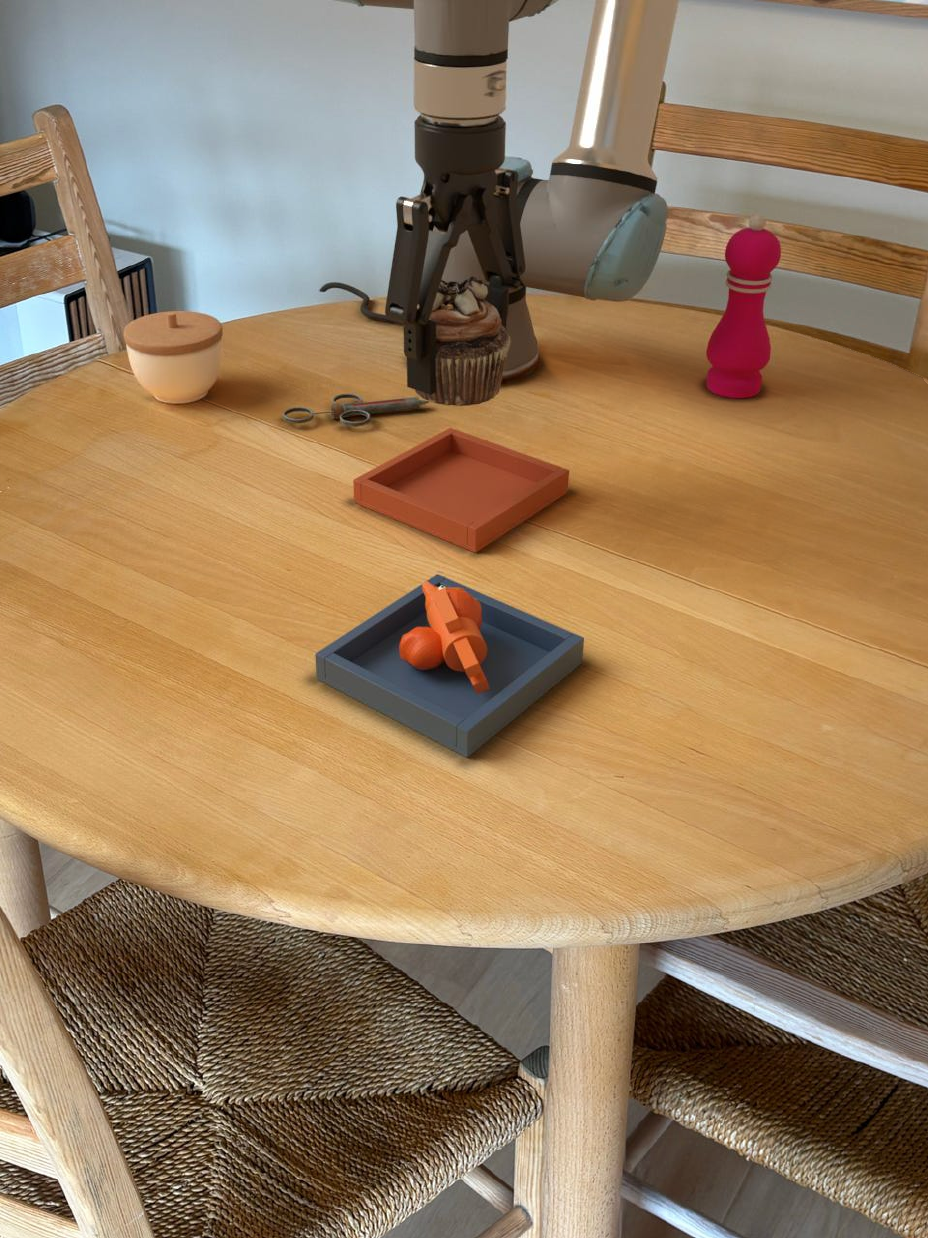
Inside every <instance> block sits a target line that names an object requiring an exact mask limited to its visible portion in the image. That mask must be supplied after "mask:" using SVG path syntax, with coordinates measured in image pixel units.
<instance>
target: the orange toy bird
mask: <svg viewBox="0 0 928 1238" xmlns="http://www.w3.org/2000/svg"><path fill="white" fill-rule="evenodd" d="M421 584H422V590H423V592H424V595H425V597H426V602H425V608H426V611H427V619H428V622H429V624H430V627H431V628H429V627H416V628H414V629H413V630H411V631H410V632H408V633H406V634H404V635H403V636H402V639H401V642H400V645H399V650H400V657H401V658H402V659H403V660H404V661H405V662H406V663H407V664H408V665H410V666H413V667H415V668H417V669H419V670H428V669H432V668H435V667H437V666H439V665H440V664H441V663H442V662H443V661H444V660H445V662H446V664H447V665H448V666H449V667H450V668H451V669H453V670H455V671H466V674H467V676H468V678H470V680H471V682H472V685H473V687H474V689H475V691H476V694H479V693H482V692H484V691H486V690H489V689H490V687H489V684H488V682H487V679H486V677H485V675H484V673H483V671H482V669H481V666H480V664H481V663H482V662H483V660H484V659H485V657H486V654H487V646H486V643H485V641H484V639H483V637H482V635H481V633H480V631H479V629H480V627H481V625H482V609H481V605H480V603H479V601H478V600H476V599H475V598H473V596H472V595H470V594H469V593H467V592H466V591H465V590H464V589H462V588H459V587H445V586H440V587H436V586H434V585H432V584H431V583H430V582H428V581H427V580H426V581H423V582H422V583H421Z"/></svg>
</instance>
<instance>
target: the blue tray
mask: <svg viewBox="0 0 928 1238" xmlns="http://www.w3.org/2000/svg"><path fill="white" fill-rule="evenodd" d="M426 581H428V582H430V583H431V584H432V585H434V586H436V587H440V586H445V587H459V588H462V589H464V590H465V591H466V592H467V593H469V594H470V595H472V596H473V598H475V599H476V600H478V601H479V603H480V605H481V609H482V625H481V627H480V629H479V631H480V633H481V635H482V637H483V639H484V641H485V643H486V646H487V654H486V657H485V659H484V660H483V662H482V663H481V664H480V666H481V669H482V671H483V673H484V675H485V677H486V679H487V682H488V684H489V687H490V689H489V690H486V691H484V692H482V693H479V694H476V691H475V689H474V687H473V685H472V682H471V680H470V678H468V676H467V674H466V671H455V670H453V669H451V668H450V667H449V666H448V665H447V664H446V662H445V660H444V661H443V662H442V663H441V664H440V665H439V666H437V667H435V668H432V669H428V670H419V669H417V668H415V667H413V666H410V665H408V664H407V663H406V662H405V661H404V660H403V659H402V658H401V657H400V650H399V645H400V642H401V639H402V636H403V635H404V634H406V633H408V632H410V631H411V630H413V629H414V628H416V627H429V628H431V627H430V624H429V622H428V619H427V611H426V608H425V602H426V597H425V595H424V592H423V590H422V583H421V584H419V585H418V586H417V587H415V588H413V589H412V590H410V591H409V592H407V593H406V594H404V595H402V596H401V597H400V598H398V599H396V600H395V601H393V602H392V603H390V604H389V605H387V606H386V607H385V608H383V609H381V610H380V611H378V612H377V613H375V614H373V615H372V616H370V617H369V618H367V619H366V620H364V621H363V622H361V623H360V624H359V625H357V626H355V627H353V628H352V629H351V630H349V631H348V632H346V633H344V634H343V635H341V636H340V637H339V638H337V639H335V640H334V641H332V642H331V643H329V644H328V645H326V646H324V647H323V648H322V649H320V650H318V651H317V652H315V654H314V658H315V670H316V680H318V681H319V682H321V683H324V684H326V685H327V686H329V687H330V688H333V689H335V690H336V691H339V692H341V693H342V694H344V695H347V696H348V697H350V698H352V699H354V700H356V701H358V702H360V703H361V704H364V705H366V706H367V707H369V708H371V709H372V710H375V711H377V712H379V713H381V714H383V716H387V717H388V718H390V719H392V720H394V721H396V722H398V723H400V724H402V725H404V726H405V727H406V728H407V727H408V728H409V729H412V730H413V731H415V732H417V733H419V734H420V735H422V736H425V737H427V738H428V739H431V740H433V742H436V743H438V744H440V745H442V746H444V747H446V748H447V749H449V750H451V751H453V752H455V753H457V754H459V755H461V756H462V757H464V758H466V759H467V758H470V757H471V756H472V754H474V753H475V752H476V751H478V750H479V749H480V748H481V747H482V746H484V745H485V744H486V743H487V742H489V740H491V739H492V738H493V737H494V736H495V735H497V734H498V733H499V732H500V731H502V730H503V729H504V728H505V727H506V726H508V725H509V724H510V723H511V722H512V721H514V720H515V719H516V718H517V717H519V716H520V715H521V714H523V712H525V711H526V710H527V709H529V708H530V707H531V706H532V705H533V704H534V703H535V702H537V701H538V700H539V699H540V698H542V697H543V696H544V695H545V694H547V693H548V692H549V691H550V690H551V689H553V687H555V686H556V685H558V684H559V683H560V682H561V681H562V680H564V678H566V677H567V676H568V675H570V674H571V673H572V672H573V671H574V670H575V669H577V668H578V667H579V666H580V665H582V664H583V658H584V645H585V637H583V636H581V635H579V634H577V633H574V632H571V631H570V630H567V629H565V628H562V627H560V626H557V625H555V624H553V623H551V622H549V621H547V620H545V619H542V618H540V617H537V616H536V615H532V614H530V613H528V612H526V611H523V610H521V609H519V608H517V607H514V606H512V605H510V604H508V603H505V602H503V601H501V600H498V599H496V598H493V597H491V596H489V595H487V594H485V593H482V592H480V591H478V590H476V589H473V588H470V587H468V586H466V585H463V584H461V583H459V582H457V581H454V580H452V579H450V578H448V577H446V576H444V575H441V574H439V573H436V574H435V575H434V576H432V577H430V578H429V579H427V580H426Z"/></svg>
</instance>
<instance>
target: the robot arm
mask: <svg viewBox="0 0 928 1238" xmlns="http://www.w3.org/2000/svg"><path fill="white" fill-rule="evenodd" d="M333 1H335V2H340V3H346V4H353V5H357V6H358V7H359V8H361V7H365V6H367V7H378V8H379V7H380V8H392V9H403V10H404V9H405V10H413V27H414V28H413V29H414V46H413V48H414V49H413V108H414V110H415V111H416V112H417V113H418V114H419V115H418V116H417V118H416V119H415V120H414V161H415V163H416V164H417V165H418V166H419V167H420V169H421V170H422V172H423V181H422V186H421V189H420V194H417V195H415V196H413V197H412V198H410V197H407V196H399V197H398V198H397V200H396V202H395V211H396V224H397V225H396V226H397V227H396V233H395V241H394V247H393V248H394V249H393V254H392V262H391V269H390V274H389V282H388V286H387V287H388V288H387V293H386V294H387V295H386V301H385V307H384V313H383V314H382V313H377V312H373V311H371V310H369V309H367V307H368V306H369V304H370V297H369V295H368V294H367V293H366V292H363V291H362V290H360V289H358V288H356V287H354V286H352V285H349V284H346V283H343V282H337V281H332V282H331V281H330V282H328V283H324V284H323V285H322V286H321V287H320V288H319V290H318V292H320V293H326V292H327V291H329V290H330V289H341V290H344V291H346V292H349V293H351V294H354V295H355V296H357V297H359V298H360V299H361V300H363V301H362V302H361V304H360V307H359V310H360V313H362V315H364V316H365V317H367V318H370V319H374V320H378V321H383V322H389V323H394V324H398V325H403V352H404V356H405V357H406V387H407V388H409V389H411V390H414V391H415V390H418V391H421V392H424V393H427V394H430V395H431V394H433V393H435V392H436V322H435V321H432V320H429V317H430V314H431V311H432V308H433V305H434V301H435V298H436V295H437V292H438V289H439V285H440V282H441V280H443V281H445V282H447V283H448V282H449V281H455V282H459V284H461V283H462V282H464V281H465V280H467V279H469V278H470V277H471V276H473V277H475V278H476V279H478V280H482V281H483V284H484V285H485V286H487V290H488V293H487V295H486V298H485V299H484V300H485V301H487V302H488V303H490V304H491V305H493V306H494V307H495V308H496V309H497V310H498V313H499V315H500V318H501V323H502V326H504V328H505V330H506V333H507V334H509V336H510V338H511V339H510V342H511V343H510V346H509V350H508V354H507V358H506V363H505V367H504V371H503V375H502V380H501V384H503V383H508V382H512V381H515V380H518V379H521V378H524V377H525V376H527V375H529V374H531V373H532V372H533V371H535V370H536V368H537V366H538V364H539V355H540V354H539V353H540V351H539V349H540V348H539V342H538V339H537V337H536V335H535V331H534V326H533V321H532V318H531V314H530V310H529V307H528V302H527V288H529V289H535V290H541V291H545V292H553V293H557V294H562V295H567V296H573V297H579V298H585V299H586V300H589V301H597V300H599V301H608V302H615V303H622V302H623V303H624V302H626V301H629V300H631V299H633V298H634V297H635V296H636V295H638V294H639V293H640V291H641V290H642V289H643V288H644V286H645V285H646V284H647V282H648V280H649V279H650V277H651V275H652V273H653V271H654V268H655V266H656V264H657V262H658V259H659V256H660V254H661V251H662V248H663V244H664V241H665V237H666V232H667V228H668V227H667V220H668V218H669V207H668V204H667V201H666V199H665V198H664V197H663V196H661V195H660V194H659V193H656V190H657V185H658V177H657V175H656V173H655V172H654V170H653V169H652V167H651V165H650V163H649V153H650V150H651V149H650V148H651V143H652V138H653V133H654V128H655V124H656V123H655V122H656V117H657V112H658V108H659V103H660V98H661V93H662V87H663V82H664V78H665V73H666V68H667V63H668V58H669V54H670V48H671V43H672V38H673V33H674V28H675V22H676V17H677V12H678V8H679V7H678V6H679V2H680V0H595V4H594V9H593V14H592V20H591V24H590V31H589V36H588V41H587V47H586V52H585V56H584V63H583V69H582V74H581V81H580V86H579V90H578V96H577V101H576V107H575V112H574V119H573V124H572V129H571V134H570V140H569V145H568V147H567V148H566V149H565V150H564V151H563V152H561V153H560V154H559V155H558V156H557V157H555V158H554V159H553V160H552V161H551V168H550V173H549V178H548V179H541V178H535V177H532V176H533V174H534V170H533V168H532V164H531V162H530V161H529V160H528V159H526V158H525V159H523V158H522V157H517V156H506V135H507V134H506V133H507V131H506V130H507V123H506V121H505V120H504V118H503V117H502V116H501V115H502V114H503V113H504V112H505V111H506V110H507V73H508V70H507V69H508V67H507V66H508V65H507V64H508V59H509V31H510V28H509V27H510V22H514V21H518V20H521V19H523V18H524V19H525V18H526V17H528V18H530V17H535V15H539V14H542V12H544V11H546V9H548V8H549V7H551V6H553V5H554V4H556V3H557V2H558V1H559V0H333ZM418 304H419V309H418V308H417V306H418Z"/></svg>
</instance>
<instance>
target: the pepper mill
mask: <svg viewBox="0 0 928 1238" xmlns="http://www.w3.org/2000/svg"><path fill="white" fill-rule="evenodd" d="M766 221H767V220H766V218H765V217H764V216H763V215H761V214H754V215H752V216H751V217H750V219H749V221H748V226H749V227H745V228H742V229H740V230H738V231H736V232H735V233H734V234H732V235H731V236H730V238H729V239H728V241H727V243H726V247H725V250H724V260H725V263H726V264H727V266H728V267H729V270H727V272H726V280H725V286H726V287H727V288H728V298H727V302H726V303H727V304H726V307H725V310H724V313H723V315H722V317H721V319H720V320H719V322H718V323H717V325H716V326H715V328H714V330H713V331H712V333H711V335H710V337H709V339H708V342H707V346H706V350H705V354H706V355H705V356H706V358H707V361H708V362H709V364H710V365H711V366H712V367H710V368H709V369H708V370H707V376H706V384H705V385H706V389H707V390H708V391H710V392H711V393H713V394H715V395H717V396H720V397H723V398H731V399H748V398H752V397H755V396H757V395H758V394H759V393H760V391H761V390H762V382H763V375H762V372H761V371H762V370H763V369H764V368H765V367H766V366H767V365H768V364H769V362H770V359H771V353H772V352H771V350H772V345H771V340H770V339H771V338H770V336H769V332H768V328H767V324H766V321H765V316H764V307H765V306H764V304H765V298H766V293H767V292H769V291H770V290H771V288H772V281H773V275H772V272H773V270H775V269H776V268H777V267H778V265H779V264H780V261H781V258H782V257H781V256H782V247H781V243H780V240H779V239H778V237H777V236H776V235H775V234H774V233H773V232H771V231H770V230H768V229H765V228H766V225H767V223H766Z"/></svg>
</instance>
